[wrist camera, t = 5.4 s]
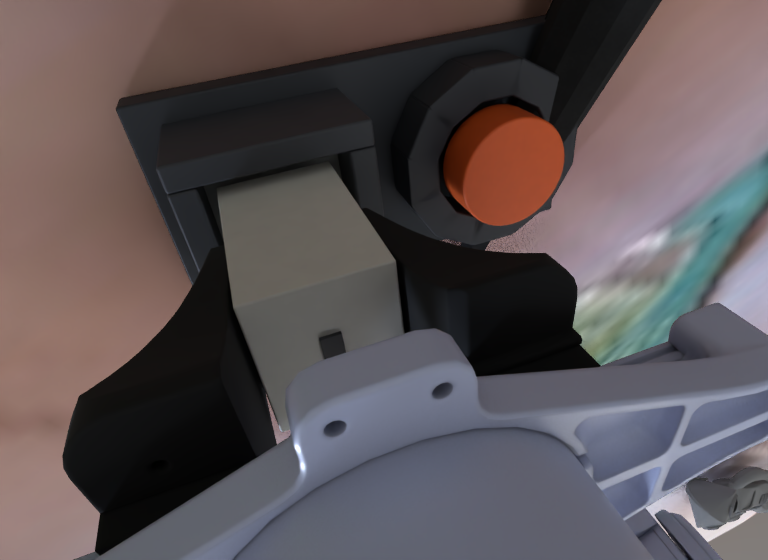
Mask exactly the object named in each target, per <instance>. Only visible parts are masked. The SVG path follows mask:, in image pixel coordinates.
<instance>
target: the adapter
mask: <svg viewBox="0 0 768 560" xmlns="http://www.w3.org/2000/svg"><path fill="white" fill-rule="evenodd" d="M545 17H546V15H543V16H538V17H533V18H528V19H523V20H518V21H513V22H508V23H503V24H497V25H492V26H487V27H482V28H477V29H472V30H467V31H462V32H457V33H452V34H447V35H441V36H436V37H431V38H426V39H421V40H416V41H411V42H406V43H401V44H396V45H391V46H385V47H380V48H375V49H370V50H365V51H360V52H355V53H350V54H345V55H340V56H335V57H329V58H324V59H319V60H314V61H309V62H304V63H299V64H294V65H289V66H284V67H279V68H273V69H268V70H263V71H258V72H253V73H248V74H243V75H238V76H233V77H228V78H223V79H217V80H212V81H207V82H202V83H197V84H192V85H187V86H182V87H177V88H172V89H167V90H161V91H156V92H151V93H146V94H141V95H136V96H131V97H126V98H121V99H120V100H119V102H118V104H117V107H116V111H117V114H118V116H119V118H120V120H121V123H122V125H123V127H124V130H125V132H126V134H127V136H128V139H129V141H130V143H131V146H132V148H133V150H134V153H135V155H136V157H137V159H138V162H139V164H140V166H141V169H142V171H143V173H144V175H145V178H146V180H147V182H148V185H149V187H150V189H151V192H152V194H153V196H154V198H155V201H156V203H157V205H158V208H159V210H160V212H161V214H162V217H163V219H164V221H165V224H166V226H167V228H168V231H169V233H170V235H171V237H172V240H173V242H174V244H175V247H176V249H177V251H178V253H179V256H180V258H181V260H182V263H183V265H184V267H185V270H186V272H187V274H188V276H189V279H190V281H191V283H192V286H193V284H194V282H195V280H196V278H197V276H198V274H199V272H198V270H197V267H196V265H195V262H194V260H193V258H192V255H191V253H190V250H189V248H188V246H187V243H186V241H185V238H184V236H183V234H182V231H181V229H180V226H179V224H178V222H177V219H176V217H175V214H174V212H173V210H172V207H171V205H170V203H169V200H168V198H167V197H168V194H167V193H166V192H165V190H164V188H163V186H162V183H161V181H160V178H159V176H158V174H157V171H156V165H157V156H158V147H159V139H160V130H161V125H163V124H167V123H172V122H176V121H181V120H186V119H191V118H195V117H200V116H205V115H210V114H215V113H219V112H224V111H229V110H234V109H238V108H243V107H248V106H253V105H257V104H262V103H267V102H272V101H277V100H281V99H286V98H291V97H296V96H300V95H305V94H310V93H315V92H319V91H324V90H329V89H334V88H338V89H339V90H340V91H341V92H342V93H343V94H344V95H346V96H347V97H348V98H349V99H350V100H351V101H352V102H353V103H354V104H355V105H356V106H357V107H358V108H360V109H361V110H362V111H363V112H364V113H365V114H366V115H367V116H368V117H369V118H370V119H371V120H372V125H373V133H374V141H375V143H374V147H375V148H376V156H377V164H378V172H379V180H380V187H381V195H382V203H383V211H384V217H385V218H387V219H389V220H391V221H393V222H395V223H397V224H399V225H401V226H403V227H406V228H408V229H410V230H412V231H415V232H417V233H420V234H422V235H425V236H427V237H430V238H433V239H436V240H439V241H440V240H443V239H449V240H453V241H458V242H462V243H466V244H470V245H477V244H480V243H484V242H487V241H491V240H494V239H497V238H501V237H504V236H508V235H511V234H513V233H514V232H516V231H517V230H518V229H519V228H521V227H522V226H523V225H524V224H526V223H527V222H528V221H529V220H530V219H532V218H533V217H534V216H535V215H536V214H538V213H539V212H541V211H544V210H548V209H550V208H551V202H552V198H553V197H554V195H555V193H556V192H557V190H558V188H559V186H560V185H561V183H562V181H563V179H564V178H565V176H566V174H567V172H568V171H569V169H570V167H571V165H572V163H573V157H574V149H575V141H576V133H577V125H578V124H577V125H576V126H575V128H574V129H573V130H572V132H571V133H570V135H569V136H568V137H567V139H566V140H565V142H564V143H563V146H564V154H565V156H564V166H563V171H562V174H561V177H560V180H559V182H558V184H557V186H556V188H555V190H554V191H553V193H552V194H551V196H550V197H549V198H548V200H547V201H546V202H545V203H544V204H543V205H542V206H541V207H540V208H539V209H538V210H537V211H536V212H534V213H533V214H532V215H530V216H529V217H527V218H525V219H523V220H521V221H519V222H516V223H513V224H510V225H503V226H495V225H489V224H486V223H483V222H481V221H479V220H478V219H476V218H475V217H474V216H473V215H472V214H471V213H470V212H468V211H467V210H466V209H465V208H464V207H463V206H462V205H461V204H460V203H459V202H458V201H457V200H456V199H455V198H454V197H453V196H452V195H451V194H450V192H449V190H448V189H447V186H446V184H445V180H444V174H443V163H444V156H445V153H446V149H447V147H448V144H449V142H450V140H451V138H452V136H453V135H454V133H455V132H456V130H457V129H458V128H459V127H460V125H461V124H462V123H463V122H464V121H465V120H466V119H467V118H469V117H470V116H471V115H472V114H474V113H476V112H477V111H479V110H481V109H483V108H485V107H489V106H492V105H497V104H509V105H511V104H512V102H513V99H516V98H518V99H520V100H522V101H525V102H526V103H527V104H528V105H530V106H531V107H532V108H533V109H535V110H536V112H537V113H538V114H539V116H540V117H541V118H542V119H544V120H546V121H548V122H549V118H550V114H551V110H552V106H553V101H554V97H555V93H556V89H557V85H558V80H559V76H558V75H556V74H555V73H553V72H551V71H549V70H547V69H545V68H543V67H541V66H539V65H537V64H535V63H533V62H531V61H529V59H530V56H531V54H532V51H533V49H534V46H535V44H536V42H537V39H538V37H539V35H540V32H541V30H542V28H543V25H544V23H545V21H546V20H545Z"/></svg>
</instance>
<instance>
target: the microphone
mask: <svg viewBox="0 0 768 560" xmlns="http://www.w3.org/2000/svg"><path fill="white" fill-rule="evenodd" d="M661 1H662V0H552V3H551V5H550V7H549V10H548V12H547V14H546V17H545V20H546V21H545V23H544V25H543V28H542V30H541V32H540V35H539V37H538V39H537V42H536V44H535V46H534V49H533V51H532V54H531V56H530V59H529V61H531V62H533V63H535V64H537V65H539V66H541V67H543V68H545V69H547V70H549V71H551V72H553V73H555V74H556V75H558V76H559V80H558V85H557V89H556V93H555V97H554V101H553V106H552V110H551V114H550V118H549V123H550V124H552V125H553V126H554V127H555V129H556V130H557V131H558V133H559V135H560V136H561V139H562V142H563V143H564V142H565V140H566V139H567V137H568V136H569V135H570V133H571V132H572V130H573V129H574V128H575V126H576V125H577V124H578V125H577V128H578V127H579V125H580V124H581V122H582V121H583V119H584V118H585V116H586V115H587V113H588V112H589V110H590V109H591V107H592V106H593V104H594V102H595V101H596V99H597V98H598V96H599V95H600V93H601V92H602V90H603V89H604V87H605V86H606V84H607V83H608V81H609V80H610V78H611V77H612V75H613V74H614V72H615V71H616V69H617V68H618V66H619V65H620V63H621V61H622V60H623V58H624V57H625V55H626V54H627V52H628V51H629V49H630V48H631V46H632V45H633V43H634V42H635V40H636V39H637V37H638V36H639V34H640V33H641V31H642V30H643V28H644V27H645V25H646V24H647V22H648V20H649V19H650V17H651V16H652V14H653V13H654V11H655V10H656V8H657V7H658V5H659V4H660V2H661ZM511 105H514V106H517V107H519V108H521V109H523V110H526V111H528V112H530V113H532V114H534V115H536V116H538V117H540V116H539V114H538V113H537V112H536V110H535V109H533V108H532V107H531V106H530V105H528V104H527V103H526V102H525V101H522V100H520V99H518V98H516V99H513V102H512V104H511ZM540 118H541V117H540ZM489 242H490V241H487V242H484V243H480V244H477V245H470V244H466V243H462V244H461V246H462V247H467V248H472V249H478V250H485V248H486V247H487V245H488V244H489Z"/></svg>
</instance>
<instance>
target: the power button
mask: <svg viewBox="0 0 768 560" xmlns="http://www.w3.org/2000/svg"><path fill="white" fill-rule="evenodd" d="M564 156H565V154H564V146H563V142H562V139H561V136H560V135H559V133H558V131H557V130H556V129H555V127H554V126H553V125H552V124H550V123H549V122H548V121H546V120H544V119H542V118H540V117H538V116H536V115H534V114H532V113H530V112H528V111H526V110H523V109H521V108H519V107H517V106H514V105H509V104H497V105H492V106H489V107H485V108H483V109H481V110H479V111H477V112H476V113H474V114H472V115H471V116H470V117H469V118H467V119H466V120H465V121H464V122H463V123H462V124H461V125H460V127H459V128H458V129H457V130H456V132H455V133H454V135H453V136H452V138H451V140H450V142H449V144H448V147H447V149H446V153H445V156H444V163H443V174H444V180H445V184H446V186H447V189H448V190H449V192H450V194H451V195H452V196H453V197H454V198H455V199H456V200H457V201H458V202H459V203H460V204H461V205H462V206H463V207H464V208H465V209H466V210H467V211H468V212H470V213H471V214H472V215H473V216H474V217H475V218H476V219H478V220H479V221H481V222H483V223H486V224H489V225H495V226H503V225H510V224H513V223H516V222H519V221H521V220H523V219H525V218H527V217H529V216H530V215H532V214H533V213H534V212H536V211H537V210H538V209H539V208H540V207H541V206H542V205H543V204H544V203H545V202H546V201H547V200H548V198H549V197H550V196H551V194H552V193H553V191H554V190H555V188H556V186H557V184H558V182H559V180H560V177H561V174H562V171H563V166H564Z"/></svg>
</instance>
